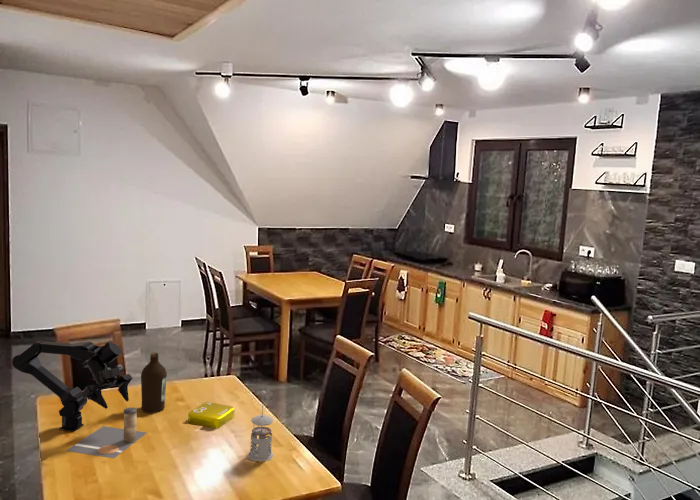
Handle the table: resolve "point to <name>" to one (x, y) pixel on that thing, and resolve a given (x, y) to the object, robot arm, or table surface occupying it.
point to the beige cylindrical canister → (130, 424)
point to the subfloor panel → (104, 442)
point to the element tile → (211, 415)
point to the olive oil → (153, 385)
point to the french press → (261, 438)
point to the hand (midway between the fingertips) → (117, 404)
